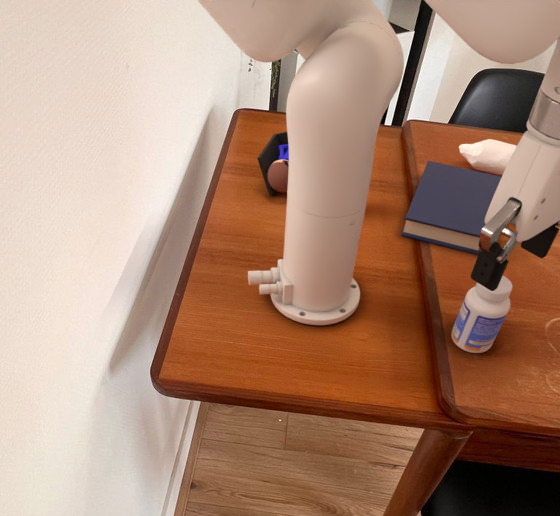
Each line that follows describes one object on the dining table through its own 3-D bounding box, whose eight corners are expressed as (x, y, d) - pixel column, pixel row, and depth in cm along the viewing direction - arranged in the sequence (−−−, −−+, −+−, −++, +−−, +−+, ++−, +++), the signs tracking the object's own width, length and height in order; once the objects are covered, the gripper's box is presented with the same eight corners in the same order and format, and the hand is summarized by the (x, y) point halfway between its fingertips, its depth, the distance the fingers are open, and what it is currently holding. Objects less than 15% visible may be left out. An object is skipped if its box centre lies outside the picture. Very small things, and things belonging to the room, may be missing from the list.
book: (489, 258, 82) (497, 239, 80) (400, 235, 85) (405, 217, 83) (501, 195, 95) (508, 177, 92) (423, 178, 98) (428, 160, 95)
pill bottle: (499, 341, 70) (528, 284, 63) (476, 361, 68) (504, 304, 60) (464, 319, 73) (489, 262, 65) (442, 338, 70) (464, 280, 63)
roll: (456, 156, 104) (465, 127, 100) (518, 170, 101) (530, 142, 97) (450, 169, 100) (459, 140, 96) (515, 185, 97) (527, 156, 93)
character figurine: (313, 167, 99) (289, 208, 90) (276, 156, 100) (249, 197, 90) (320, 126, 93) (295, 166, 83) (281, 115, 94) (252, 153, 84)
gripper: (586, 81, 54) (523, 227, 67) (483, 125, 46) (434, 280, 59) (659, 106, 50) (577, 255, 63) (560, 159, 42) (490, 316, 55)
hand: (508, 267), depth 61 cm, fingers open, 9 cm apart
